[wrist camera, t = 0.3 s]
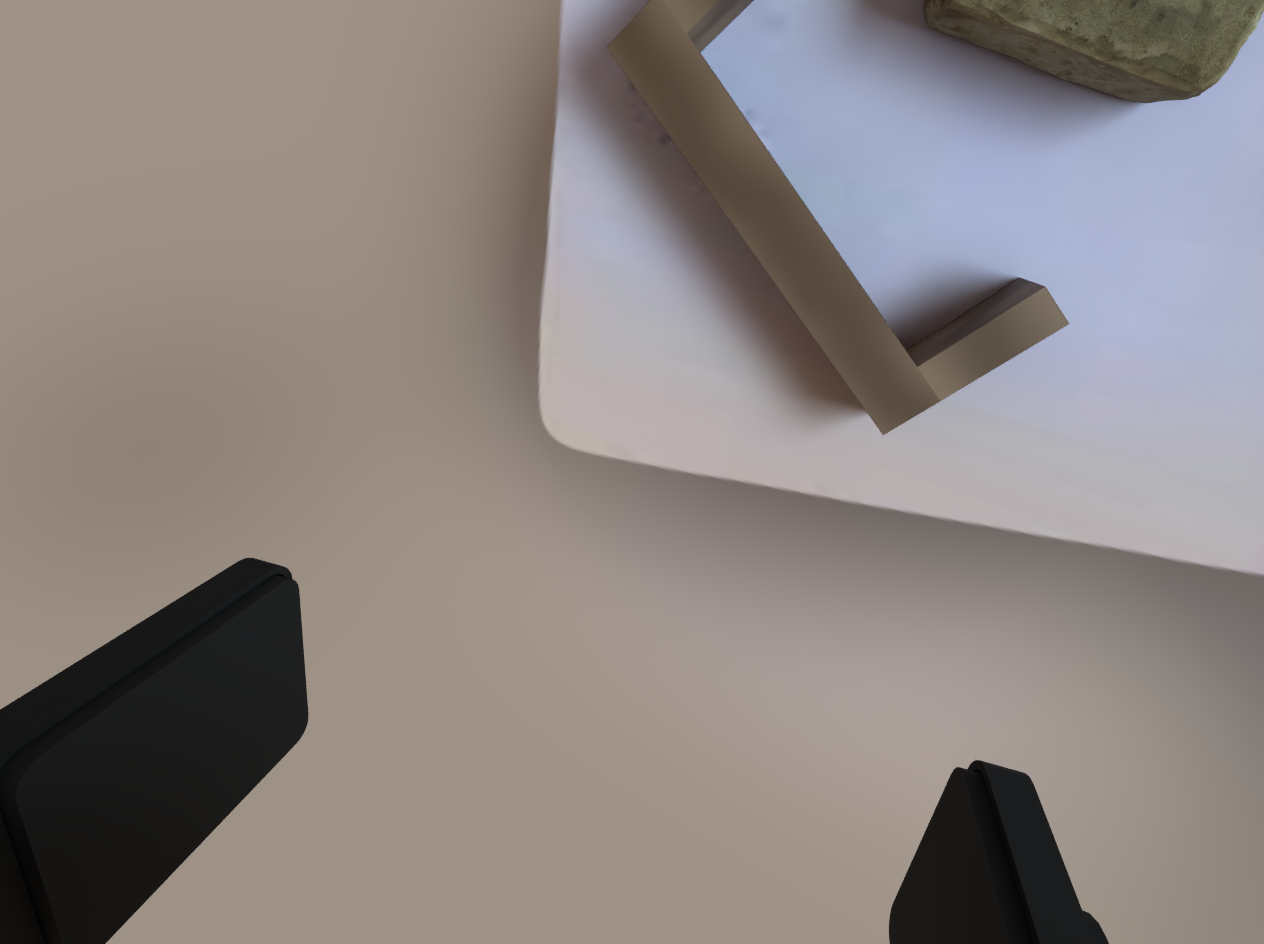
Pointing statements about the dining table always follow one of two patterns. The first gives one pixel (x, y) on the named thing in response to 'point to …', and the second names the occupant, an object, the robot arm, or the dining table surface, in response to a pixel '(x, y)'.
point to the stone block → (1110, 39)
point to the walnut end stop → (811, 229)
